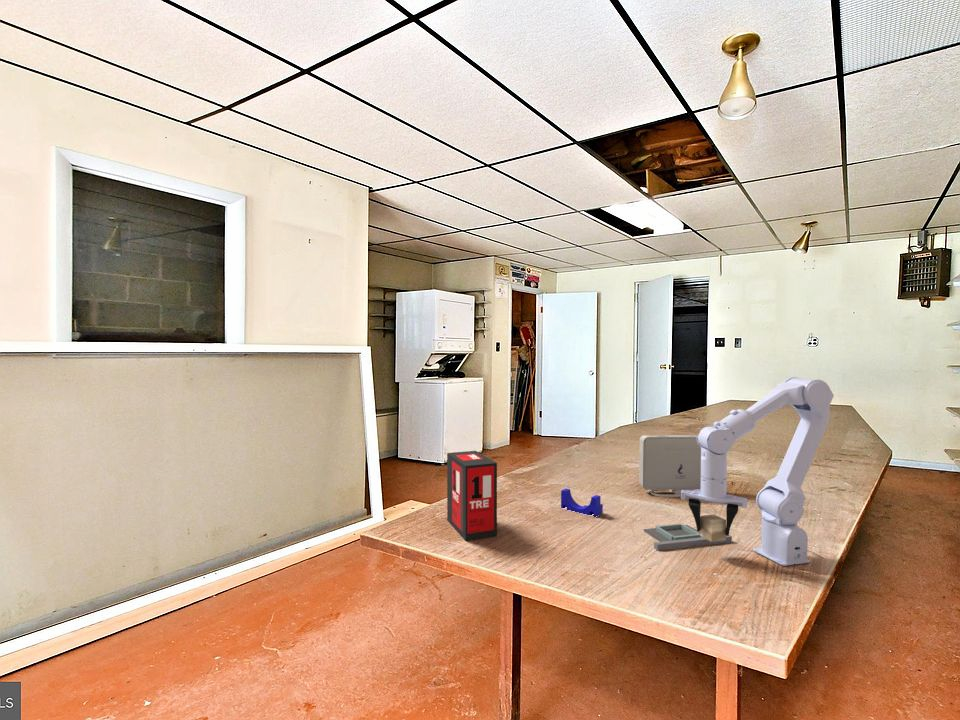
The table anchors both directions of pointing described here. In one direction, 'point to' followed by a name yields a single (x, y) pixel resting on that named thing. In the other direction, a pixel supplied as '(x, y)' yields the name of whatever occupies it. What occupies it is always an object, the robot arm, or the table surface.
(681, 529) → the keeper cradle
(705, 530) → the block
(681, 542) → the rail
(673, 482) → the network device
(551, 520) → the table surface
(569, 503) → the blue notched block
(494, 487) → the cleaning product box
